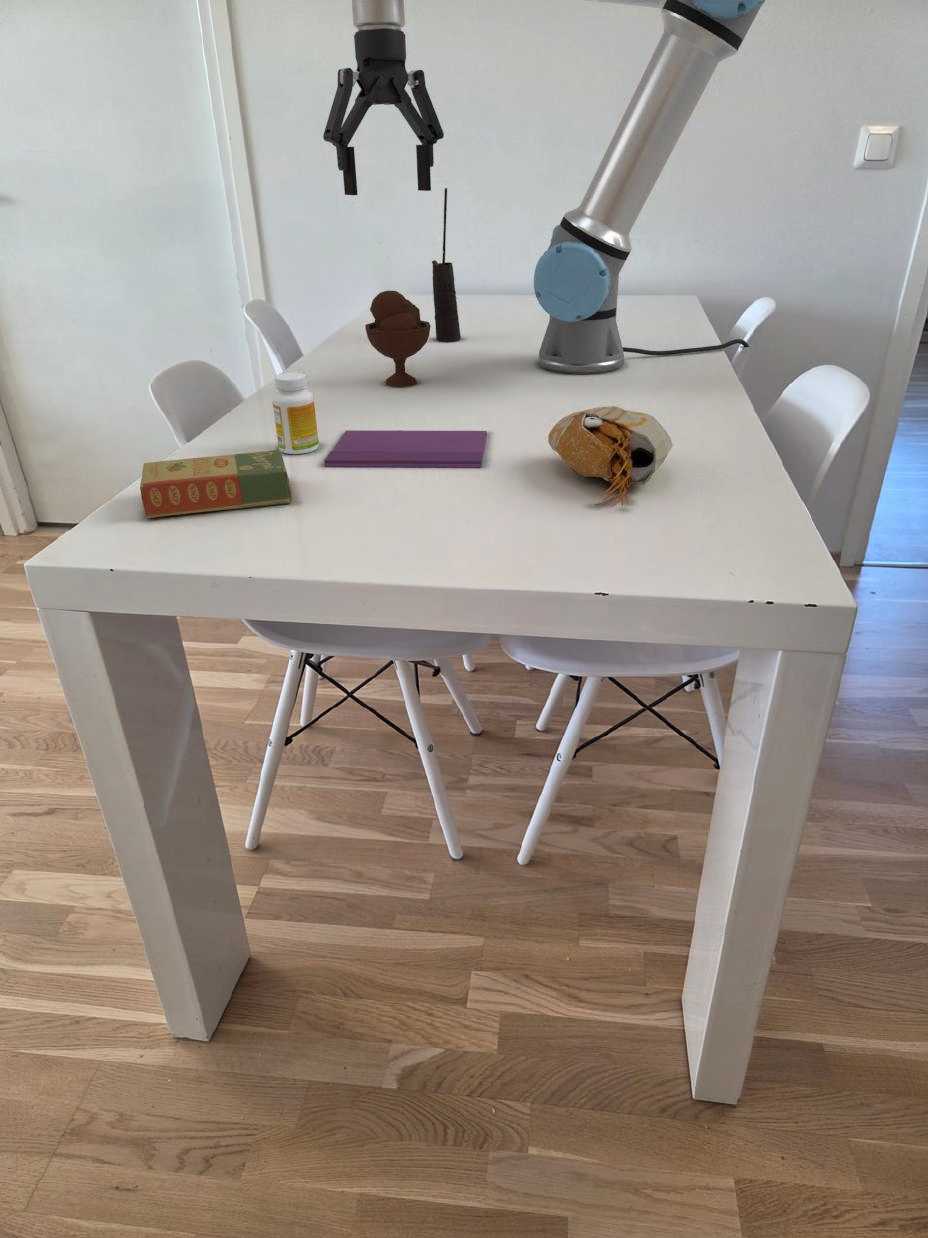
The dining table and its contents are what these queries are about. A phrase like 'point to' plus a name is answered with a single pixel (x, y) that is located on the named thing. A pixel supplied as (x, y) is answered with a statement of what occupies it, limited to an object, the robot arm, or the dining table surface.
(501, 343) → the dining table surface
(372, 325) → the ice cream bowl
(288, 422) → the supplement bottle
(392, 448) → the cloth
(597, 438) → the nautilus
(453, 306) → the butter churn
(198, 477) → the carton
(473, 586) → the dining table surface
